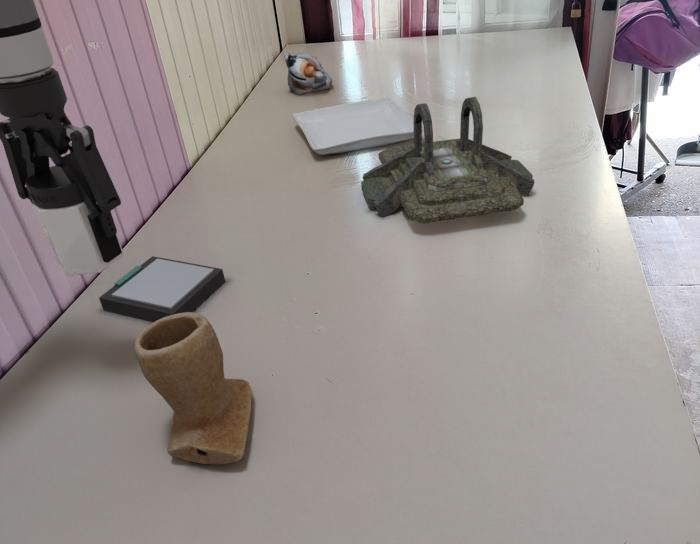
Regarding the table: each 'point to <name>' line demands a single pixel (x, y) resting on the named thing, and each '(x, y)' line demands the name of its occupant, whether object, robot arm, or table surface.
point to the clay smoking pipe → (195, 389)
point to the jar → (66, 223)
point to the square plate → (355, 126)
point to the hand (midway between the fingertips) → (88, 252)
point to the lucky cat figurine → (306, 73)
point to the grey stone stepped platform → (446, 174)
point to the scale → (162, 289)
